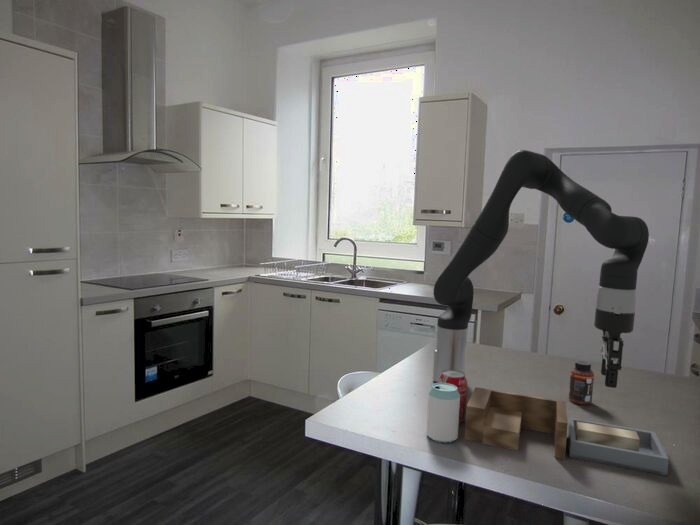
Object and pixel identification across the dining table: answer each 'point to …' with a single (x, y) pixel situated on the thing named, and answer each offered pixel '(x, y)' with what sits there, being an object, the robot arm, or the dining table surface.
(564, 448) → the open wooden box frame
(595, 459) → the tray
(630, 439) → the slab
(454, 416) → the can
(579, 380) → the supplement bottle
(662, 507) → the dining table surface
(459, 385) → the soda can
